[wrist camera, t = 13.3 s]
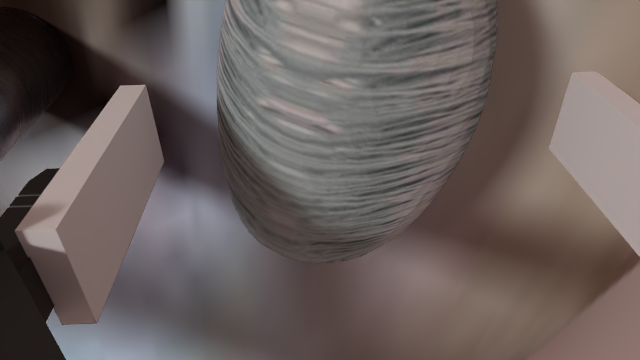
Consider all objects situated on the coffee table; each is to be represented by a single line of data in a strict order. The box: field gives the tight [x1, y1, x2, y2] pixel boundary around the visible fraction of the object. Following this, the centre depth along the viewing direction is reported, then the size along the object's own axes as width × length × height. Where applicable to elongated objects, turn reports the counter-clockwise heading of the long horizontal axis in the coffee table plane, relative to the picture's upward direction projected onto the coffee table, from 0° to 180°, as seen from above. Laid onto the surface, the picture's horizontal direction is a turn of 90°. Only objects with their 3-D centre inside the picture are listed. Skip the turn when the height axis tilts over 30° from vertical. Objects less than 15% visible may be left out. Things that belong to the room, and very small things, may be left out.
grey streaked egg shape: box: [217, 0, 498, 263], centre depth 17 cm, size 14×10×10 cm
